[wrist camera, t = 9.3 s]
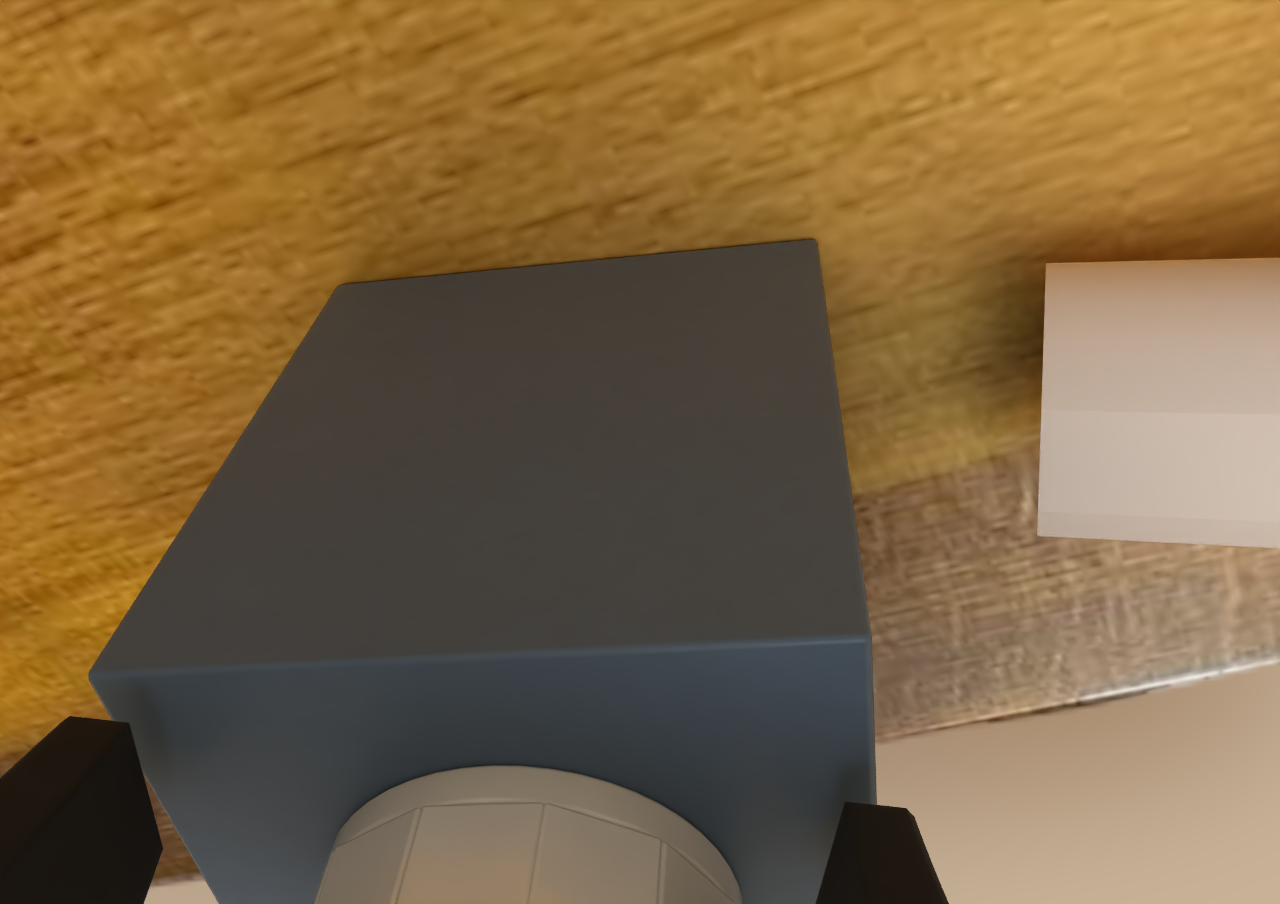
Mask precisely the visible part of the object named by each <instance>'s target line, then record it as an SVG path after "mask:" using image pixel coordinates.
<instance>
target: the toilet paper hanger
mask: <svg viewBox="0 0 1280 904" xmlns="http://www.w3.org/2000/svg"><path fill="white" fill-rule="evenodd" d="M1037 536H1048V537H1067V538H1087V539H1106V540H1125V541H1145V542H1164V543H1183V544H1202V545H1222V546H1241V547H1260V548H1280V258H1239V259H1197V260H1156V261H1115V262H1073V263H1046V280H1045V311H1044V342H1043V373H1042V404H1041V435H1040V467H1039V498H1038V531H1037Z"/></svg>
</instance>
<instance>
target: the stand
mask: <svg viewBox="0 0 1280 904" xmlns="http://www.w3.org/2000/svg"><path fill="white" fill-rule="evenodd" d="M88 677H89V681H90V683H91V684H92V686H93V688H94V690H95V691H96V693H97V695H98V697H99V698H100V700H101V702H102V703H103V705H104V707H105V709H106V710H107V712H108V714H109V715H110V717H111V719H112V721H118V722H127V723H129V724H130V727H131V731H132V735H133V739H134V742H135V746H136V750H137V753H138V757H139V761H140V765H141V768H142V772H143V774H144V776H145V777H146V779H147V781H148V783H149V784H150V786H151V788H152V790H153V791H154V793H155V795H156V796H157V798H158V800H159V802H160V803H161V805H162V807H163V808H164V810H165V812H166V814H167V815H168V817H169V819H170V821H171V822H172V824H173V826H174V827H175V829H176V831H177V833H178V834H179V836H180V838H181V839H182V841H183V843H184V845H185V846H186V848H187V850H188V851H189V853H190V855H191V857H192V858H193V860H194V862H195V864H196V865H197V867H198V869H199V870H200V872H201V874H202V876H203V877H204V879H205V881H206V882H207V884H208V886H209V888H210V889H211V891H212V893H213V894H214V896H215V898H216V900H217V901H218V903H219V904H310V903H311V901H312V898H313V896H314V894H315V891H316V889H317V886H318V884H319V881H320V879H321V875H322V872H323V869H324V866H325V864H326V861H327V858H328V855H329V852H330V849H331V846H332V844H333V842H334V840H335V838H336V836H337V835H338V833H339V831H340V829H341V828H342V827H343V826H344V824H345V823H346V822H347V821H348V820H349V819H350V817H351V816H352V815H353V814H354V813H355V812H356V811H357V810H359V809H360V808H361V807H362V806H364V805H365V804H366V803H367V802H368V801H370V800H371V799H373V798H374V797H376V796H378V795H379V794H381V793H383V792H384V791H386V790H388V789H390V788H392V787H394V786H397V785H399V784H402V783H404V782H406V781H409V780H411V779H414V778H418V777H421V776H425V775H428V774H432V773H435V772H440V771H446V770H451V769H457V768H463V767H475V766H487V765H521V766H531V767H542V768H552V769H557V770H562V771H568V772H573V773H579V774H583V775H587V776H590V777H594V778H597V779H601V780H605V781H608V782H611V783H614V784H617V785H619V786H622V787H625V788H627V789H630V790H633V791H635V792H638V793H640V794H642V795H644V796H646V797H648V798H650V799H652V800H654V801H656V802H658V803H660V804H662V805H664V806H665V807H667V808H668V809H670V810H672V811H673V812H675V813H676V814H678V815H680V816H681V817H683V818H684V819H685V820H687V821H688V822H689V823H690V824H692V825H693V826H694V827H695V828H697V829H698V830H699V831H701V832H702V833H703V834H704V835H705V836H706V837H707V838H708V839H709V840H710V842H711V843H712V844H713V845H714V846H715V847H716V848H717V849H718V850H719V852H720V853H721V855H722V856H723V857H724V859H725V860H726V862H727V863H728V864H729V866H730V868H731V870H732V872H733V874H734V877H735V879H736V881H737V883H738V885H739V889H740V893H741V897H742V901H743V904H816V900H817V897H818V893H819V890H820V886H821V883H822V879H823V876H824V872H825V869H826V866H827V862H828V859H829V855H830V852H831V848H832V845H833V841H834V838H835V834H836V831H837V827H838V824H839V820H840V817H841V813H842V810H843V806H844V803H845V802H854V803H863V804H872V805H877V797H876V767H875V766H876V764H875V730H874V697H873V663H872V636H871V629H870V621H869V614H868V607H867V599H866V592H865V585H864V578H863V570H862V563H861V556H860V548H859V541H858V534H857V526H856V519H855V512H854V505H853V497H852V490H851V483H850V475H849V468H848V461H847V454H846V446H845V439H844V432H843V424H842V417H841V410H840V402H839V395H838V388H837V381H836V373H835V366H834V359H833V351H832V344H831V337H830V329H829V322H828V315H827V308H826V300H825V293H824V286H823V278H822V271H821V264H820V256H819V249H818V243H817V242H816V240H813V239H810V240H800V241H790V242H779V243H769V244H759V245H748V246H738V247H728V248H717V249H707V250H697V251H686V252H676V253H666V254H655V255H645V256H635V257H624V258H614V259H603V260H593V261H583V262H572V263H562V264H552V265H541V266H531V267H521V268H510V269H500V270H490V271H479V272H469V273H459V274H448V275H438V276H428V277H417V278H407V279H396V280H386V281H376V282H365V283H355V284H345V285H339V286H338V287H337V288H336V289H335V291H334V292H333V294H332V295H331V297H330V298H329V300H328V302H327V303H326V305H325V306H324V308H323V309H322V311H321V312H320V314H319V316H318V317H317V319H316V320H315V322H314V323H313V325H312V326H311V328H310V330H309V331H308V333H307V334H306V336H305V337H304V339H303V340H302V342H301V343H300V345H299V347H298V348H297V350H296V351H295V353H294V354H293V356H292V357H291V359H290V361H289V362H288V364H287V365H286V367H285V368H284V370H283V371H282V373H281V375H280V376H279V378H278V379H277V381H276V382H275V384H274V385H273V387H272V389H271V390H270V392H269V393H268V395H267V396H266V398H265V399H264V401H263V402H262V404H261V406H260V407H259V409H258V410H257V412H256V413H255V415H254V416H253V418H252V420H251V421H250V423H249V424H248V426H247V427H246V429H245V430H244V432H243V434H242V435H241V437H240V438H239V440H238V441H237V443H236V444H235V446H234V447H233V449H232V451H231V452H230V454H229V455H228V457H227V458H226V460H225V461H224V463H223V465H222V466H221V468H220V469H219V471H218V472H217V474H216V475H215V477H214V479H213V480H212V482H211V483H210V485H209V486H208V488H207V489H206V491H205V493H204V494H203V496H202V497H201V499H200V500H199V502H198V503H197V505H196V506H195V508H194V510H193V511H192V513H191V514H190V516H189V517H188V519H187V520H186V522H185V524H184V525H183V527H182V528H181V530H180V531H179V533H178V534H177V536H176V538H175V539H174V541H173V542H172V544H171V545H170V547H169V548H168V550H167V552H166V553H165V555H164V556H163V558H162V559H161V561H160V562H159V564H158V565H157V567H156V569H155V570H154V572H153V573H152V575H151V576H150V578H149V579H148V581H147V583H146V584H145V586H144V587H143V589H142V590H141V592H140V593H139V595H138V597H137V598H136V600H135V601H134V603H133V604H132V606H131V607H130V609H129V610H128V612H127V614H126V615H125V617H124V618H123V620H122V621H121V623H120V624H119V626H118V628H117V629H116V631H115V632H114V634H113V635H112V637H111V638H110V640H109V642H108V643H107V645H106V646H105V648H104V649H103V651H102V652H101V654H100V656H99V657H98V659H97V660H96V662H95V663H94V665H93V666H92V668H91V669H90V671H89V675H88Z"/></svg>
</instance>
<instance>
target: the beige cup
mask: <svg viewBox="0 0 1280 904" xmlns="http://www.w3.org/2000/svg"><path fill="white" fill-rule="evenodd" d="M310 904H743V901H742V897H741V893H740V889H739V885H738V883H737V881H736V879H735V877H734V874H733V872H732V870H731V868H730V866H729V864H728V863H727V862H726V860H725V859H724V857H723V856H722V855H721V853H720V852H719V850H718V849H717V848H716V847H715V846H714V845H713V844H712V843H711V842H710V840H709V839H708V838H707V837H706V836H705V835H704V834H703V833H702V832H701V831H699V830H698V829H697V828H695V827H694V826H693V825H692V824H690V823H689V822H688V821H687V820H685V819H684V818H683V817H681V816H680V815H678V814H676V813H675V812H673V811H672V810H670V809H668V808H667V807H665V806H664V805H662V804H660V803H658V802H656V801H654V800H652V799H650V798H648V797H646V796H644V795H642V794H640V793H638V792H635V791H633V790H630V789H627V788H625V787H622V786H619V785H617V784H614V783H611V782H608V781H605V780H601V779H597V778H594V777H590V776H587V775H583V774H579V773H573V772H568V771H562V770H557V769H552V768H542V767H531V766H521V765H487V766H475V767H463V768H457V769H451V770H446V771H440V772H435V773H432V774H428V775H425V776H421V777H418V778H414V779H411V780H409V781H406V782H404V783H402V784H399V785H397V786H394V787H392V788H390V789H388V790H386V791H384V792H383V793H381V794H379V795H378V796H376V797H374V798H373V799H371V800H370V801H368V802H367V803H366V804H365V805H364V806H362V807H361V808H360V809H359V810H357V811H356V812H355V813H354V814H353V815H352V816H351V817H350V819H349V820H348V821H347V822H346V823H345V824H344V826H343V827H342V828H341V829H340V831H339V833H338V835H337V836H336V838H335V840H334V842H333V844H332V846H331V849H330V852H329V855H328V858H327V861H326V864H325V866H324V869H323V872H322V875H321V879H320V881H319V884H318V886H317V889H316V891H315V894H314V896H313V898H312V901H311V903H310Z"/></svg>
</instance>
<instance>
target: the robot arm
mask: <svg viewBox="0 0 1280 904" xmlns="http://www.w3.org/2000/svg"><path fill="white" fill-rule="evenodd" d="M162 850H163V847H162V843H161V839H160V835H159V832H158V828H157V824H156V821H155V817H154V813H153V809H152V806H151V802H150V798H149V794H148V791H147V787H146V783H145V780H144V776H143V772H142V768H141V765H140V761H139V757H138V753H137V750H136V746H135V742H134V739H133V735H132V731H131V727H130V724H129V723H127V722H118V721H109V720H100V719H91V718H82V717H73V716H69V717H68V718H67V719H65V720H64V721H63V722H61V723H60V724H59V725H58V726H57V727H56V728H54V729H53V730H52V731H51V732H50V733H49V734H48V735H47V736H46V737H45V738H43V739H42V740H41V741H40V742H39V743H38V744H37V745H36V746H35V747H34V748H32V749H31V750H30V751H29V752H28V753H27V754H26V755H25V756H24V757H23V758H22V759H20V760H19V761H18V762H17V763H16V764H15V765H14V766H13V767H12V768H11V769H10V770H8V771H7V772H6V773H5V774H4V775H3V776H2V777H1V778H0V904H144V901H145V898H146V895H147V892H148V890H149V887H150V884H151V881H152V878H153V875H154V872H155V870H156V867H157V864H158V861H159V858H160V855H161V853H162ZM816 904H949V903H948V901H947V898H946V896H945V894H944V891H943V889H942V887H941V884H940V882H939V879H938V877H937V874H936V872H935V870H934V867H933V865H932V862H931V860H930V857H929V854H928V852H927V849H926V847H925V844H924V842H923V839H922V836H921V834H920V831H919V828H918V826H917V823H916V820H915V817H914V816H913V815H912V814H911V813H910V812H909V811H908V810H907V809H906V808H899V807H890V806H880V805H872V804H863V803H854V802H845V803H844V806H843V810H842V813H841V817H840V820H839V824H838V827H837V831H836V834H835V838H834V841H833V845H832V848H831V852H830V855H829V859H828V862H827V866H826V869H825V872H824V876H823V879H822V883H821V886H820V890H819V893H818V897H817V900H816Z"/></svg>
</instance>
